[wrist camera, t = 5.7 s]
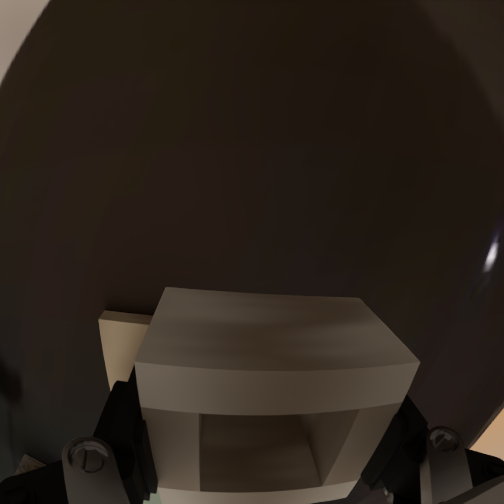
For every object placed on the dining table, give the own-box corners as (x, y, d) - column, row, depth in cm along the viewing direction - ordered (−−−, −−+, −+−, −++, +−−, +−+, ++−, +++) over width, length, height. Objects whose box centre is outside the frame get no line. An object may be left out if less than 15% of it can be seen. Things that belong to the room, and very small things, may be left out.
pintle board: (366, 323, 25) (397, 359, 19) (333, 418, 28) (351, 457, 23) (104, 310, 22) (78, 349, 17) (121, 413, 25) (109, 455, 20)
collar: (359, 297, 10) (420, 361, 6) (320, 427, 12) (346, 497, 8) (165, 287, 9) (134, 361, 5) (171, 426, 11) (162, 503, 7)
